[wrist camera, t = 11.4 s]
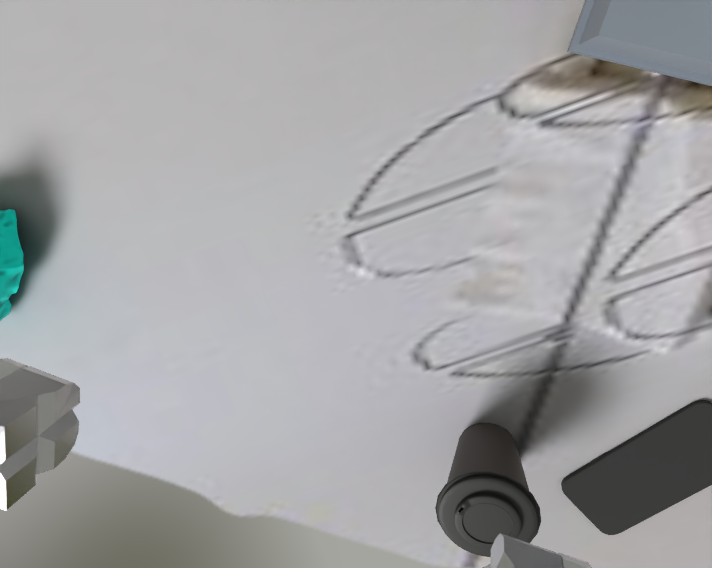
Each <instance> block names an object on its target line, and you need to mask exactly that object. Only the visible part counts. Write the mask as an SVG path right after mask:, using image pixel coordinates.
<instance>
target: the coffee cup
mask: <svg viewBox="0 0 712 568" xmlns="http://www.w3.org/2000/svg"><path fill="white" fill-rule="evenodd" d="M436 513H437V519H438V522H439V524H440V525H441V527H442V529H443V530H444V532H445V534H446V535H447V536H448V537H449V538H450V539H451V540H452V541H453V542H454V543H455V544H456V545H458V546H459V547H461V548H462V549H464V550H466V551H468V552H471V553H473V554H477V555H481V556H486V557H491V547H492V545H493V543H494V541H495V539H496V537H497V536H498V535H499V534H500V533H501V534H504V535H507V536H510V537H512V538H515V539H518V540H521V541H524V542H527V543H530V542H531V541H532V539H533V538H534V537H535V536H536V535H537V533H538V530H539V526H540V523H541V516H540V508H539V506H538V504H537V502H536V500H535V498H534V496H533V494H532V493H530V492H529V489H528V485H527V481H526V478H525V474H524V471H523V467H522V463H521V460H520V456H519V453H518V449H517V445H516V442H515V440H514V438H513V437H512V435H511V434H510V433H509V432H508V431H507V430H506V429H504V428H502V427H500V426H498V425H495V424H491V423H479V424H476V425H472V426H470V427H469V428H467V429H466V430H465V431H464V432H463V433H462V435H461V436H460V438H459V442H458V446H457V449H456V453H455V456H454V460H453V464H452V467H451V471H450V475H449V478H448V482H447V484H446V485H445V486H444V488H443V489H442V491H441V492H440V493H439V495H438V499H437V503H436Z"/></svg>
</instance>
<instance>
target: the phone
mask: <svg viewBox="0 0 712 568" xmlns="http://www.w3.org/2000/svg"><path fill="white" fill-rule="evenodd" d="M710 485H712V403H711V402H709V401H706V400H699V401H695V402H693V403H691V404H689V405H687V406H685V407H684V408H682V409H680V410H679V411H677V412H675V413H673V414H672V415H670V416H668V417H667V418H665V419H663V420H661V421H660V422H658V423H656V424H655V425H653V426H651V427H650V428H648V429H646V430H644V431H643V432H641V433H639V434H638V435H636V436H634V437H632V438H631V439H629V440H627V441H626V442H624V443H622V444H621V445H619V446H617V447H615V448H614V449H612V450H610V451H609V452H606V453H604V454H603V455H601V456H599V457H598V458H596V459H594V460H593V461H591V462H590V463H588V464H586V465H585V466H583V467H581V468H580V469H578V470H576V471H574V472H573V473H571V474H569V475H568V476H566V477H565V478H564V479H563V480H562V483H561V486H562V490H563V492H564V494H565V495H566V496H567V497H568V498H569V499H570V500H571V501H572V502H573V503H574V504H575V506H576V507H577V508H578V509H579V510H580V511H581V512H582V513H583V514H584V515H585V516H586V517H587V518H588V519H589V520H590V521H591V522H592V523H593V524H594V525H595V526H596V527H597V528H598V529H599V530H600V531H601V532H603V533H605V534H608V535H615V534H618V533H621V532H623V531H625V530H627V529H628V528H630V527H632V526H634V525H636V524H638V523H640V522H642V521H644V520H646V519H647V518H649V517H651V516H653V515H655V514H657V513H659V512H661V511H663V510H665V509H667V508H668V507H670V506H672V505H674V504H676V503H678V502H680V501H682V500H684V499H686V498H687V497H689V496H691V495H693V494H695V493H697V492H699V491H701V490H703V489H705V488H706V487H708V486H710Z"/></svg>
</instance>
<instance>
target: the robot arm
mask: <svg viewBox="0 0 712 568" xmlns="http://www.w3.org/2000/svg"><path fill="white" fill-rule="evenodd" d="M79 403H80V388H79V387H78V386H77V385H76V384H74V383H72V382H70V381H67V380H65V379H62V378H59V377H57V376H54V375H51V374H49V373H46V372H44V371H41V370H38V369H36V368H33V367H28V366H26V365H24V364H21V363H18V362H16V361H13V360H11V359H8V358H7V359H0V509H3V510H8V509H9V508H10V507H11V506H12V505H13V504H14V503H16V502H17V501H18V500H19V499H20V498H21V497H22V496H24V495H25V494H26V493H27V492H28V491H29V490H31V489H32V488H33V487H34V486H35V485H36V479H37V474H40V473H43V472H46V471H49V470H52V469H54V468H55V467H57V466H58V465H59V464H60V463H61V462H62V461H63V460H64V459H65V458H66V457H67V455H68V454H69V452H70V451H71V449H72V447H73V446H74V444H75V441H76V438H77V435H78V428H79V421H78V419H77V417H76V416H75V414H74V412H73V410H72V409H73V408H74V407H75V406H77V405H78V404H79ZM483 568H592V567H591V566H590V565H589V563H588V562H585V561H582V560H579V559H576V558H573V557H570V556H567V555H564V554H561V553H556V552H553V551H550V550H547V549H544V548H542V547H539V546H536V545H533V544H530V543H527V542H524V541H521V540H518V539H515V538H512V537H510V536H507V535H504V534H501V533H500V534H499V535H498V536H497V537H496V539H495V541H494V543H493V545H492V547H491V564H489V565H487V566H485V567H483Z"/></svg>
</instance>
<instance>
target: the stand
mask: <svg viewBox="0 0 712 568" xmlns="http://www.w3.org/2000/svg"><path fill="white" fill-rule="evenodd" d="M567 52H571V53H575V54H579V55H584V56H588V57H592V58H596V59H600V60H605V61H609V62H613V63H617V64H621V65H625V66H630V67H634V68H638V69H642V70H646V71H650V72H655V73H659V74H663V75H667V76H671V77H676V78H680V79H684V80H688V81H692V82H696V83H701V84H705V85H709V86H712V0H585V3H584V6H583V8H582V11H581V14H580V17H579V20H578V23H577V26H576V28H575V31H574V34H573V37H572V40H571V43H570V46H569V48H568V51H567Z"/></svg>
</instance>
